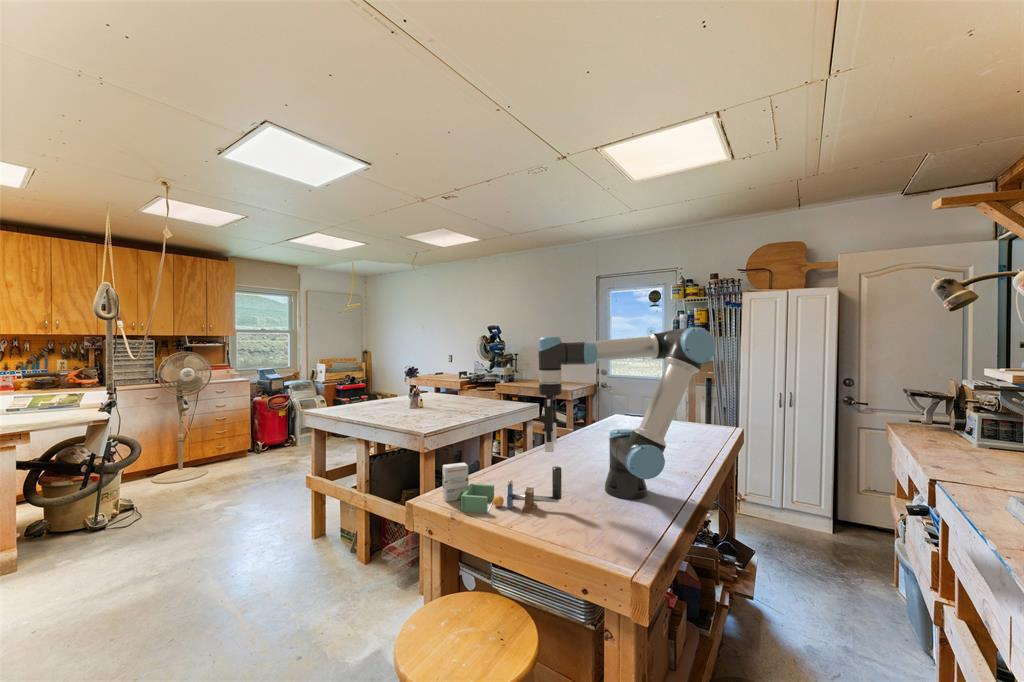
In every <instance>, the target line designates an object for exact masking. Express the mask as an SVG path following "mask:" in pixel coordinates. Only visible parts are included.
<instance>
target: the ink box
mask: <svg viewBox="0 0 1024 682" xmlns="http://www.w3.org/2000/svg"><path fill="white" fill-rule="evenodd" d="M468 487H469V465H468V464H467V463H466V462H457V463H448V464H447V463H446V464H443V465H442V499H443V500H444V501H445V503H447V502H451V501H452V502H453V501H457V500H461V496H462V494H463V493H464V492H465V490H466V489H467V488H468Z"/></svg>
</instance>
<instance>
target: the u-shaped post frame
mask: <svg viewBox="0 0 1024 682" xmlns="http://www.w3.org/2000/svg"><path fill="white" fill-rule="evenodd" d="M551 470H552V479H551V480H552V484H551V485H552V489H551V491H552V493H551V495H536V494H534V495H532V499H533V501H534V502H538V503H539V502H540V503H541V502H543V503H555V504H556V503H557V504H559V501H560V500H562V499H563V497H562V467H561V466H558V465H557V466H553V467H552V469H551ZM513 487H514V483H513V480H512V479H508V480H507V496H506V508H507V509H513V507H514V501H524V502H525V494H520V493H519V494H518V493H514V488H513Z"/></svg>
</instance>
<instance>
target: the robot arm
mask: <svg viewBox="0 0 1024 682" xmlns="http://www.w3.org/2000/svg"><path fill="white" fill-rule="evenodd" d="M716 348H717V344H716V341H715V339H714V336H713V335H712V333H711V332H710V331H708V330H707V329H705V328H701V327H694V326H691V327H688V328H676V329H671V330H667V331H663V332H657V333H650V334H648V336H642V337H640V336H639V337H628V338H627V337H625V338H616V339H613V338H612V339H603V340H590V341H589V340H588V341H587V340H586V341H578V342H562V340H561V337H560V336H542V337H540V338H539V339H538V351H537V353H538V372H537V374H536V375H537V376H538V381H539V384H538V391H539V392H538V394H539V395H541V396H545V397H546V398H545V399H544V400H543V406H544V409H543V410H544V425H543V426H544V427H543V428H542V432H544V452H545V453H554V452H555V450H554V447H555V446H554V443H555V442H556V443H557V438H558V437H557V435H558V434H557V430H558V429H557V423H559V419H557V418H558V417H557V403H558V402H557V401H558V400H557V399H556V396H560V395H562V394H563V393H562V392H563V391H562V383H561V382H562V377H563V376H562V366H566V365H567V366H569V365H572V366H573V365H574V366H576V365H585V366H587V365H594V364H596V362H601V361H611V360H612V361H613V360H624V359H625V360H626V359H637V358H638V359H639V358H651V359H652V360H665V362H666V363H667V365H666V367H665V369H664V372H663V373H662V375H661V378H660V381H659V383H658V385H657V386H656V389H655V392H654V393H653V396H652V398H651V400H650V403H649V404H648V407H647V409H646V412H645V414H644V416H643V417H642V421H641V422H640V425H639V427H636V428H633V429H625V428H624V429H623V428H622V429H621V428H619V429H618V428H617V429H611V431H610V432H609V437H608V442H609V445H608V446H609V447H608V448H609V471H608V473H607V477H606V480H605V483H604V491H605V492H606V494H608V495H610V496H612V497H615V498H619V499H627V500H636V499H637V500H638V499H643V498H645V497H646V496H647V495H648V487H647V483H646V480H651V479H654V478H656V477H657V476H659V475H660V474H661V473H662V471H663V470H664V468H665V465H666V458H665V456H664V452H665V449H666V447H667V443H666V441H665V437H666V434H667V433H668V431H669V428H670V426H671V424H672V421H673V420H674V417H675V415H676V412H677V411H678V409H679V406H680V404H681V401H682V399H683V397H684V395H685V392H686V390H687V388H688V386H689V384H690V381H691V379H692V377H693V375H694V374H697V373H700V371H701V368H702V367H703V364H705V363H706V362H709V361H710V360H711V359H712V358H713V357H714V355H715V354H716V350H717V349H716Z"/></svg>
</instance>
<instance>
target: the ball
mask: <svg viewBox="0 0 1024 682" xmlns="http://www.w3.org/2000/svg"><path fill="white" fill-rule="evenodd" d="M504 501H505V500H504V498H503V496H501V495H496V496H495V495H494V499H493V506H495V507H497V508H498V507H501V506H503V504H504Z"/></svg>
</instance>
